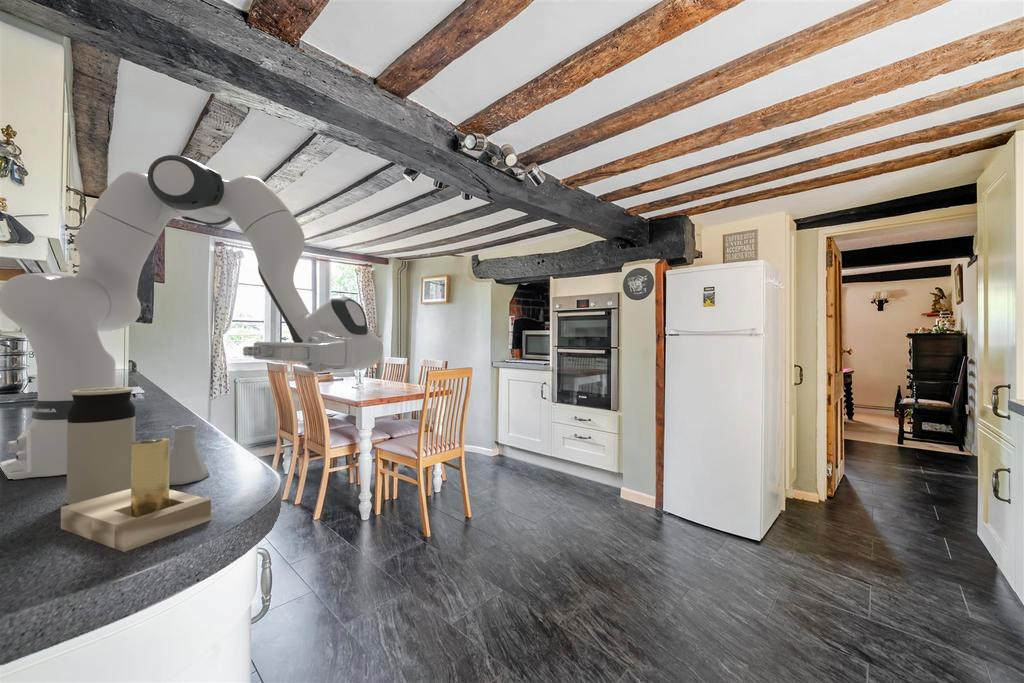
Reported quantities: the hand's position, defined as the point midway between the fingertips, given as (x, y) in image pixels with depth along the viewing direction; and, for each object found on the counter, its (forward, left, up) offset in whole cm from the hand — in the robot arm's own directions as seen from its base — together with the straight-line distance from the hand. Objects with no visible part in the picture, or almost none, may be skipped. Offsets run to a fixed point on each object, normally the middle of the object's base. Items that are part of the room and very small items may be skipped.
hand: (262, 352), depth 76 cm
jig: (+1, -19, -24) cm, 31 cm away
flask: (-14, -5, -24) cm, 28 cm away
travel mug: (-16, -16, -24) cm, 33 cm away
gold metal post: (+4, -19, -24) cm, 31 cm away
